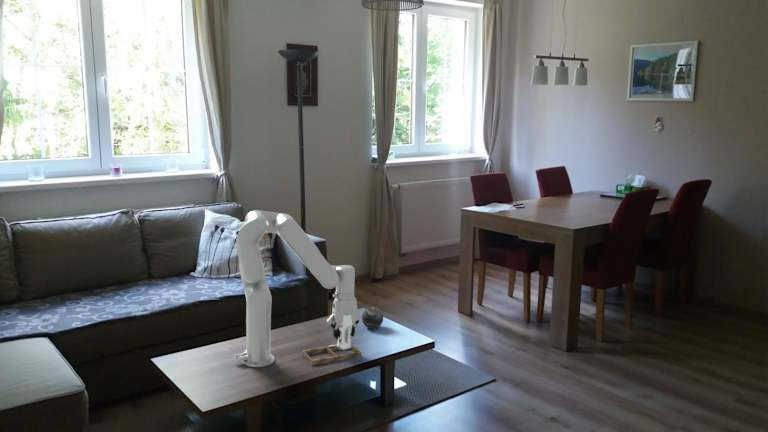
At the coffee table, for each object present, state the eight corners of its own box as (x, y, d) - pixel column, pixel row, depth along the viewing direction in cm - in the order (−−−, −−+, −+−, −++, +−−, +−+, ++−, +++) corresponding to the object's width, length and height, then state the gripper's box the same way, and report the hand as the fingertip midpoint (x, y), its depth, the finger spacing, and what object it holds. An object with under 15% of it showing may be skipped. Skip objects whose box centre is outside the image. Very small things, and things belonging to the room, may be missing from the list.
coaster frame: (311, 365, 247) (311, 360, 247) (301, 355, 257) (301, 349, 256) (361, 356, 257) (361, 351, 257) (350, 347, 267) (350, 342, 266)
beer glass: (353, 344, 262) (354, 310, 259) (350, 350, 255) (351, 316, 252) (337, 343, 263) (337, 309, 260) (334, 349, 256) (334, 314, 253)
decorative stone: (367, 333, 284) (368, 312, 282) (357, 326, 292) (358, 305, 290) (386, 330, 288) (387, 309, 287) (376, 323, 297) (377, 303, 295)
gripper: (328, 300, 247) (328, 343, 251) (368, 295, 255) (366, 336, 259) (321, 295, 254) (321, 336, 257) (360, 290, 262) (359, 330, 265)
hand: (344, 336), depth 258 cm, fingers closed on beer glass, 6 cm apart
